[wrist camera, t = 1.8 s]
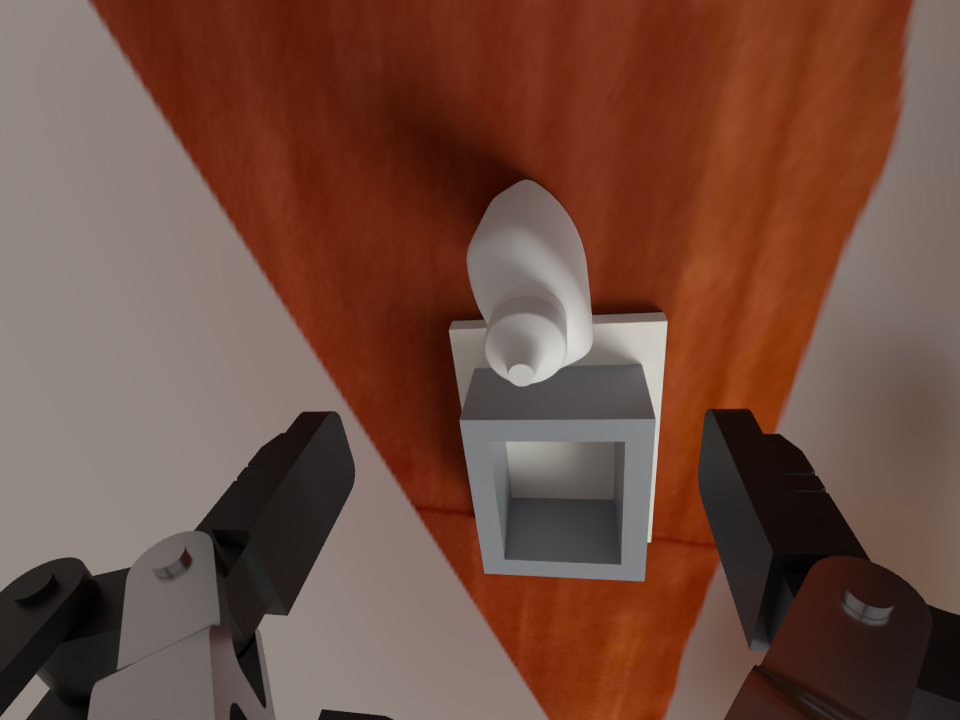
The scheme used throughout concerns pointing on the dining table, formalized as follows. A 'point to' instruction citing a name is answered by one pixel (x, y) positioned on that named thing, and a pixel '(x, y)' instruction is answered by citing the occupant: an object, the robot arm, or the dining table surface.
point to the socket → (565, 453)
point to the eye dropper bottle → (530, 285)
